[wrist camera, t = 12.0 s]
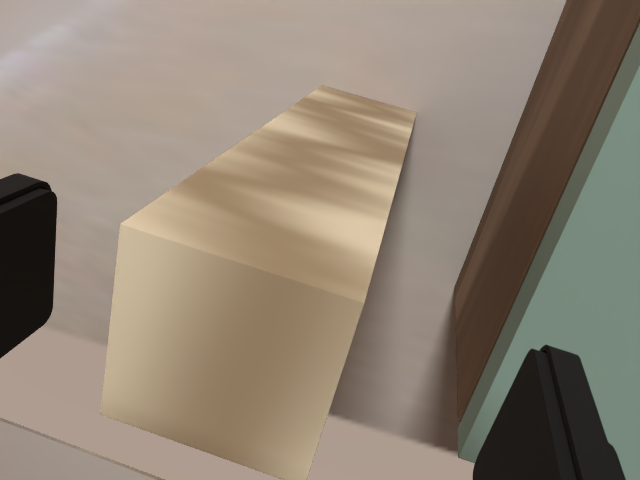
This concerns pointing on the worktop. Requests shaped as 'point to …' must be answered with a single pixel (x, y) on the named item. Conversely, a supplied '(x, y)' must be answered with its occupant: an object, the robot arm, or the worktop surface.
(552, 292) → the lid
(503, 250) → the open wooden box
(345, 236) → the block
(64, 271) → the worktop surface
